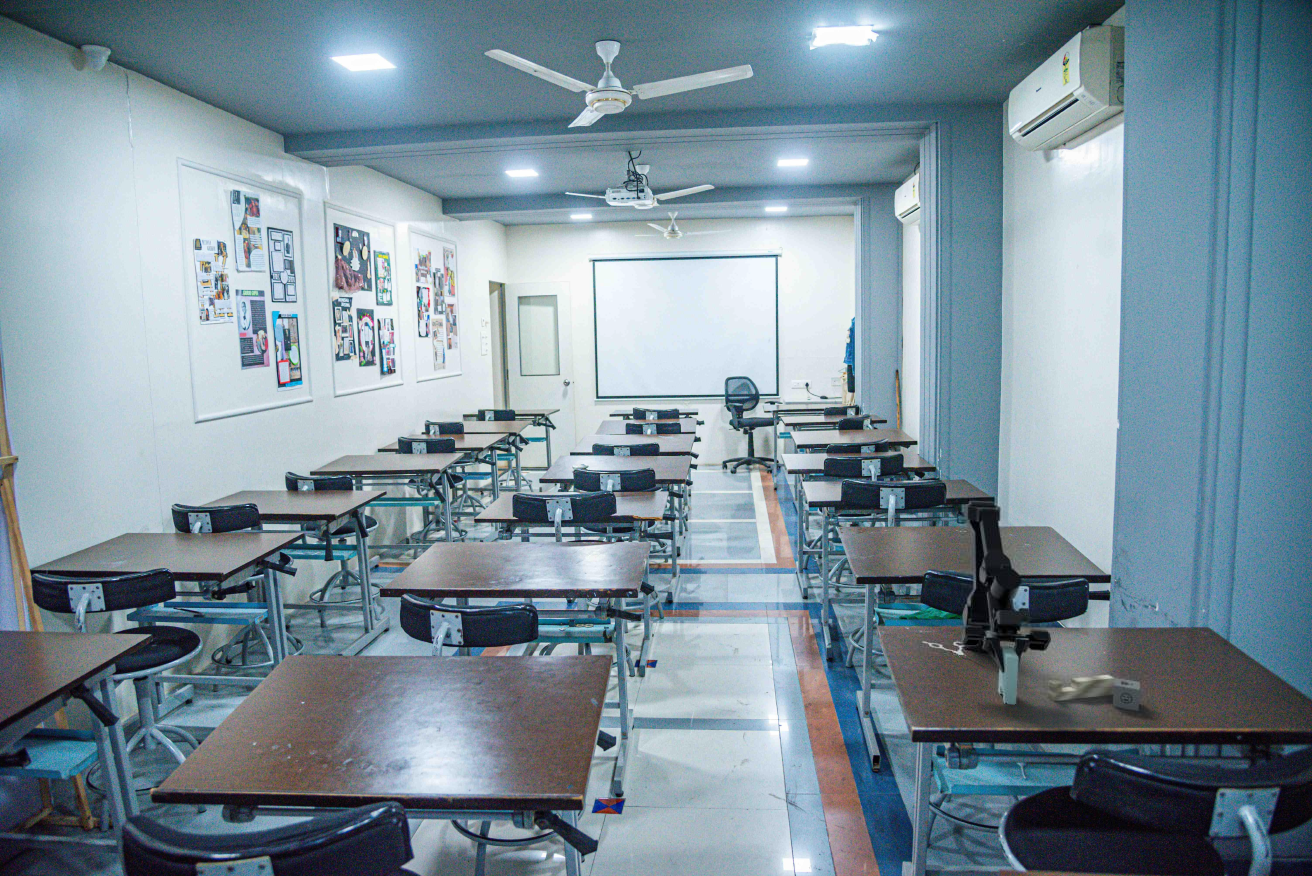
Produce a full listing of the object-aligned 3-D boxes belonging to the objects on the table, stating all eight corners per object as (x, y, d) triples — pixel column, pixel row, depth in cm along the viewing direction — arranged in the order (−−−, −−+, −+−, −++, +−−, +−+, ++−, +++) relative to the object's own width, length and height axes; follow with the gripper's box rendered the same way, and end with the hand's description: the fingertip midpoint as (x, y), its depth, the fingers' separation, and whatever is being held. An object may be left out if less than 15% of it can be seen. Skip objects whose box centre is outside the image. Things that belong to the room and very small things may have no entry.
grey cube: (1113, 698, 198) (1114, 677, 197) (1137, 703, 196) (1139, 681, 195) (1112, 706, 194) (1114, 685, 193) (1138, 711, 191) (1139, 689, 191)
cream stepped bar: (1053, 701, 196) (1054, 684, 196) (1047, 697, 198) (1048, 680, 198) (1113, 694, 200) (1114, 677, 200) (1106, 691, 202) (1107, 674, 201)
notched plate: (998, 691, 202) (1000, 645, 200) (1009, 692, 201) (1011, 646, 200) (1004, 703, 195) (1007, 656, 193) (1016, 704, 194) (1018, 657, 193)
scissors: (958, 639, 236) (999, 665, 217) (958, 642, 236) (999, 668, 217) (922, 641, 234) (960, 668, 215) (922, 644, 234) (960, 671, 215)
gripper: (965, 591, 201) (972, 654, 191) (1051, 596, 197) (1062, 660, 188) (958, 614, 209) (964, 675, 200) (1040, 618, 206) (1050, 681, 197)
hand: (1009, 672), depth 196 cm, fingers closed on notched plate, 2 cm apart
